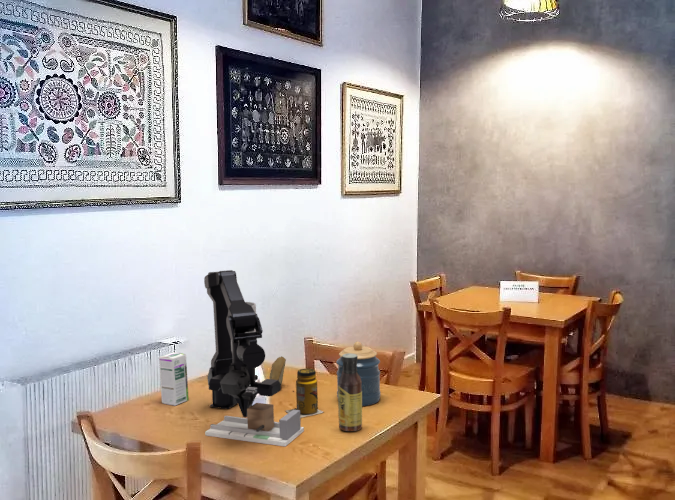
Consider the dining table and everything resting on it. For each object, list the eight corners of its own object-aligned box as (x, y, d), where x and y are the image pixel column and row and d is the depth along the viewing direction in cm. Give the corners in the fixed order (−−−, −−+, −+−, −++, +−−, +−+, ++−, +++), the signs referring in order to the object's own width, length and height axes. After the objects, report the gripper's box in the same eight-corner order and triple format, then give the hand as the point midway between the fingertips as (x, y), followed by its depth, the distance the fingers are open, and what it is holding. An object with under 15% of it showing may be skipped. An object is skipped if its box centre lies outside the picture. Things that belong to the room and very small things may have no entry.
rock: (280, 388, 202) (298, 376, 211) (264, 365, 204) (283, 354, 212) (260, 404, 208) (279, 391, 217) (245, 381, 210) (264, 369, 218)
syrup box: (175, 406, 195) (173, 358, 194) (160, 403, 198) (158, 355, 197) (188, 400, 200) (186, 353, 199) (174, 397, 203) (172, 351, 202)
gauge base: (205, 435, 171) (204, 412, 171) (227, 421, 181) (226, 399, 181) (285, 446, 163) (284, 422, 162) (303, 430, 173) (303, 408, 172)
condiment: (323, 412, 187) (322, 371, 186) (297, 418, 182) (296, 376, 181) (310, 406, 193) (309, 365, 192) (285, 411, 188) (283, 370, 187)
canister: (382, 393, 203) (382, 337, 201) (377, 407, 190) (377, 347, 188) (341, 392, 205) (339, 336, 203) (333, 406, 192) (332, 346, 191)
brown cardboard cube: (241, 435, 167) (240, 412, 166) (257, 424, 175) (256, 402, 174) (259, 438, 165) (258, 414, 165) (274, 426, 173) (273, 404, 172)
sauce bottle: (337, 424, 177) (336, 352, 175) (360, 423, 177) (359, 351, 176) (339, 433, 170) (338, 358, 169) (363, 432, 171) (362, 357, 169)
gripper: (195, 363, 167) (197, 423, 169) (260, 369, 160) (262, 432, 162) (219, 352, 177) (221, 409, 179) (281, 358, 171) (282, 417, 172)
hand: (245, 416), depth 173 cm, fingers closed
